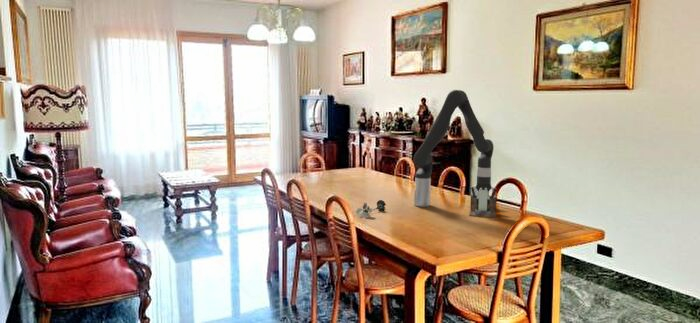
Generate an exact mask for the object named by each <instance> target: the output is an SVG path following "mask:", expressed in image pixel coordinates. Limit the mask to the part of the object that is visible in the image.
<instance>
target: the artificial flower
mask: <svg viewBox="0 0 700 323" xmlns="http://www.w3.org/2000/svg"><path fill="white" fill-rule="evenodd" d="M386 206H387V204H386V202H385V201H384V200H383V199H379V200H378V201H376V207H375V208H374V207H370V206H369V205H368V203H367V202H364V203H363V204H362V208H361V207H358V208H357V209H355V213H356V215H357V216H360V218H361V219H366V218H367V219H368V218H370V216H371V215H370V214H371V213H372V212H374V211H375V210H379V211H383V212H384V211H385V210H386Z"/></svg>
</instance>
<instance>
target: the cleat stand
mask: <svg viewBox="0 0 700 323" xmlns="http://www.w3.org/2000/svg"><path fill="white" fill-rule="evenodd" d="M476 196H477V195H476ZM487 199H488V198H487ZM469 207H470V210H469V214H468V216H469V217H479V218H496V217H497V195H494V197H493V199H490V204H489V205H488V206H487V211H478V207H479V205H478V204H476V198H474V197H473V195H472V194H471V195H470V206H469Z"/></svg>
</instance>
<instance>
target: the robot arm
mask: <svg viewBox="0 0 700 323" xmlns="http://www.w3.org/2000/svg"><path fill="white" fill-rule="evenodd" d="M457 108H458V109H459V110H460V112H461V113H462V115H463V118H464V122H465V125H466V126H465V127H466V128H467V131H468V132H469V134H470V135H471V137H472V139H473V140H472V141H473V144H474V146H475V148H476V151H478V152H479V153H480V156H479V157H478V159H477V169H476V184H475V185H476V186H475V187H473V186H471V187H470V190H471V195H472V194H473V197H474V198H476V204H478V205H479V189H480V190H488V192H487V198H488V199H487V206H488V205H489V204H490V199H493V197H494V196H495V194H496V192H497V188H496V187H492V184H491V182H492V157H493V154H494V143H493V141H492V140H490V139H488V138H487V139H486V138H485V131H484V129H483V127H482V126H481V124H480V122H479V120H478V118H477V117H476V115H475V112H474V110H473V108H472V105H471V103H470V101H469V97H468V95H467V94H466V92H465V91H464V90H461V89H453V90H451V91H449V92H448V94H447V96H446V97H445V100H444V103H443V104H442V107H441V109H440V110H439V112H438V115H437V116H436V118H435V120H434V121H433V124H432V125H431V127H430V128H429V131H428V132H427V135H426V136H425V138H424V140H423V142H422V144H421V145H420V147H419V148H418V149H417V150H416V152H415V154H414V156H413V160H412V161H413V164H414V166H416V167H417V168H418V169H417V171H415V175H414V176H415V178H414V179H415V181H414V183H415V185H414V190H413V191H414V192H413V193H414V194H413V196H414V198H413V199H414V200H413V201H414V203H413V206H416V207H423V208H424V207H430V206H431V181H432V180H431V175H432V173H433V160H434V159H433V155H432V152H433V149H434V148H435V147H436V146H437V145H438V144H439V143H440V142H441V141H442V140H443V139H444V137H445V136H446V134H447V132H448V130H449V129H450V123H451V119H452V116H453V114H454V112H455V110H456V109H457ZM475 188H476V189H477V190H478V195H477V196H476V195H475ZM490 191H491V195H490Z"/></svg>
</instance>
